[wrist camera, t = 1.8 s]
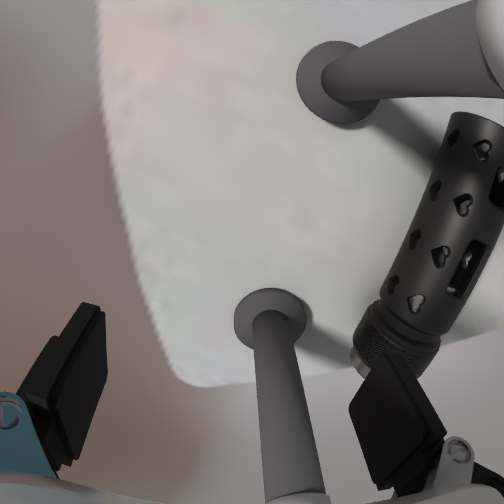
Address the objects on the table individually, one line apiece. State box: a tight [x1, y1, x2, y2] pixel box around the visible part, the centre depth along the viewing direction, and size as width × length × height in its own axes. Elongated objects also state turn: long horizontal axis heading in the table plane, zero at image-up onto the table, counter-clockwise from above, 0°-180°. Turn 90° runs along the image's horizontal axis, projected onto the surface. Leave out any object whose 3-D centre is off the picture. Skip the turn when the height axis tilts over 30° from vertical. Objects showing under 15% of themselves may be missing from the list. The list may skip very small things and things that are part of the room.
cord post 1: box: [234, 288, 331, 504], centre depth 25 cm, size 8×8×24 cm
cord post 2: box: [296, 0, 504, 123], centre depth 15 cm, size 8×8×24 cm
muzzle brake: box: [350, 112, 504, 379], centre depth 28 cm, size 10×28×10 cm, turn 162°
